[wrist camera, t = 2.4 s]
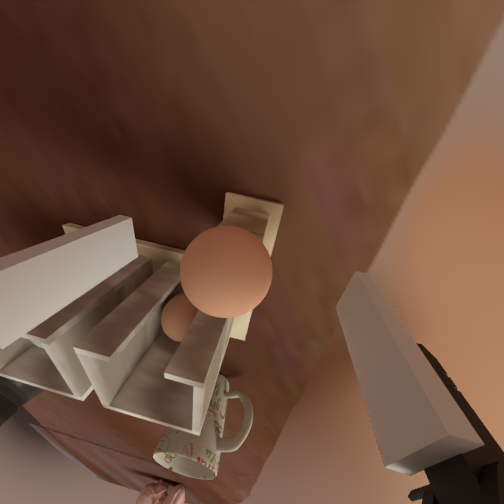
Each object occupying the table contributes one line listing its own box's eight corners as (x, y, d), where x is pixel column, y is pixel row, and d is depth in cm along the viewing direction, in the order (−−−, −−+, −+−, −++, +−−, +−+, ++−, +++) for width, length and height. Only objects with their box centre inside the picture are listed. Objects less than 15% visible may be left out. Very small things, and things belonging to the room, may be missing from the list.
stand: (222, 242, 18) (200, 272, 14) (227, 191, 16) (203, 207, 11) (271, 253, 18) (265, 288, 13) (284, 203, 16) (283, 225, 11)
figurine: (188, 473, 75) (140, 477, 71) (181, 523, 65) (125, 531, 62) (187, 479, 80) (142, 484, 77) (180, 526, 71) (129, 534, 67)
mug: (180, 367, 31) (139, 450, 22) (245, 360, 27) (226, 457, 18) (204, 394, 34) (177, 476, 26) (266, 391, 30) (258, 487, 21)
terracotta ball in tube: (177, 309, 23) (152, 345, 19) (176, 278, 21) (147, 311, 16) (215, 319, 23) (199, 358, 18) (219, 289, 20) (200, 325, 16)
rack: (94, 295, 26) (-16, 377, 16) (69, 222, 20) (-117, 281, 11) (245, 335, 24) (220, 448, 15) (262, 268, 19) (239, 380, 10)
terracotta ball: (201, 271, 14) (162, 324, 9) (204, 206, 11) (153, 238, 7) (266, 287, 13) (256, 350, 9) (283, 224, 11) (281, 269, 7)
